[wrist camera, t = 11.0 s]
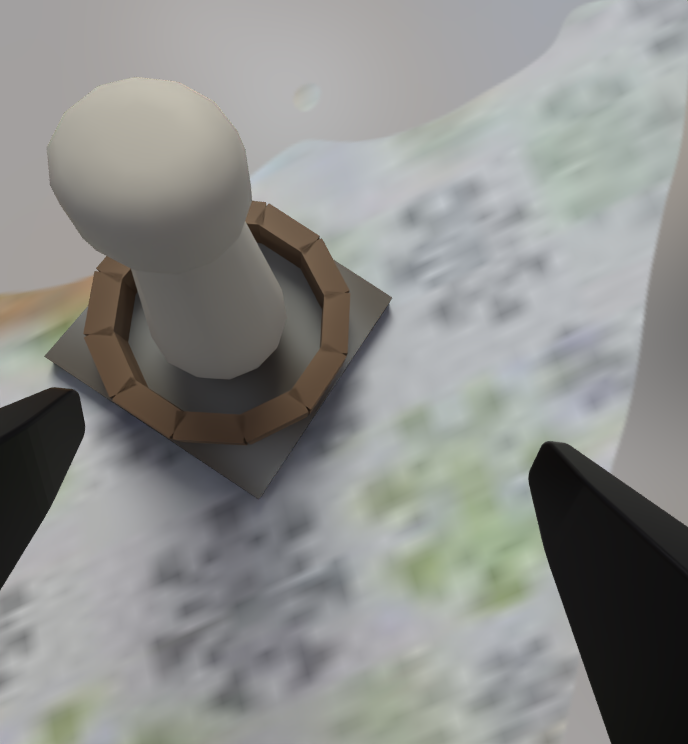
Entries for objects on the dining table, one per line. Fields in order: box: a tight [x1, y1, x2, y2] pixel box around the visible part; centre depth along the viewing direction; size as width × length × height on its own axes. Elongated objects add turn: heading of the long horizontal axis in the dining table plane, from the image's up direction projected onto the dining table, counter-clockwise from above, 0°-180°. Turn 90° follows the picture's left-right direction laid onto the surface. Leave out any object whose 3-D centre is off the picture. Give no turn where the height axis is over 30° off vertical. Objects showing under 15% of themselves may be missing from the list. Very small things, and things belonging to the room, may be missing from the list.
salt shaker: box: [47, 77, 287, 380], centre depth 16 cm, size 6×6×13 cm
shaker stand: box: [44, 201, 392, 499], centre depth 22 cm, size 12×12×3 cm
